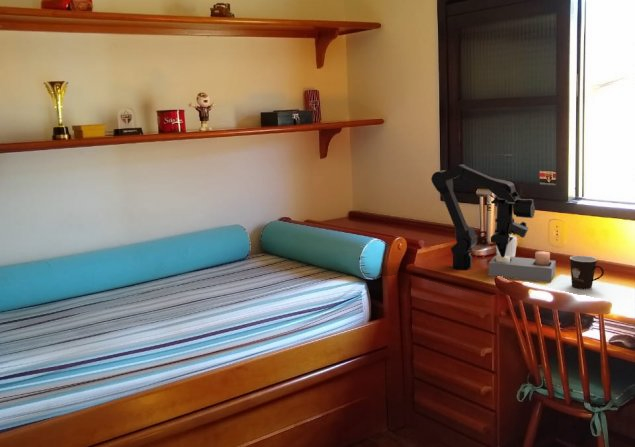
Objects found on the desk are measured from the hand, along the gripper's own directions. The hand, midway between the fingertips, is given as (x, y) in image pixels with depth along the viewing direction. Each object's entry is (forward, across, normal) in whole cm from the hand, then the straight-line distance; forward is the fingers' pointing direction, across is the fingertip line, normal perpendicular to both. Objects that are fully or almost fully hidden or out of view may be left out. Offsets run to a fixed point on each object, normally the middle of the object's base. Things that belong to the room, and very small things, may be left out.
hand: (502, 256), depth 239 cm
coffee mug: (+6, -9, -29) cm, 31 cm away
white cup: (+6, +18, +2) cm, 19 cm away
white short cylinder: (+4, 0, 0) cm, 4 cm away
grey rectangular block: (+6, 0, -7) cm, 9 cm away
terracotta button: (+2, 0, -14) cm, 14 cm away
